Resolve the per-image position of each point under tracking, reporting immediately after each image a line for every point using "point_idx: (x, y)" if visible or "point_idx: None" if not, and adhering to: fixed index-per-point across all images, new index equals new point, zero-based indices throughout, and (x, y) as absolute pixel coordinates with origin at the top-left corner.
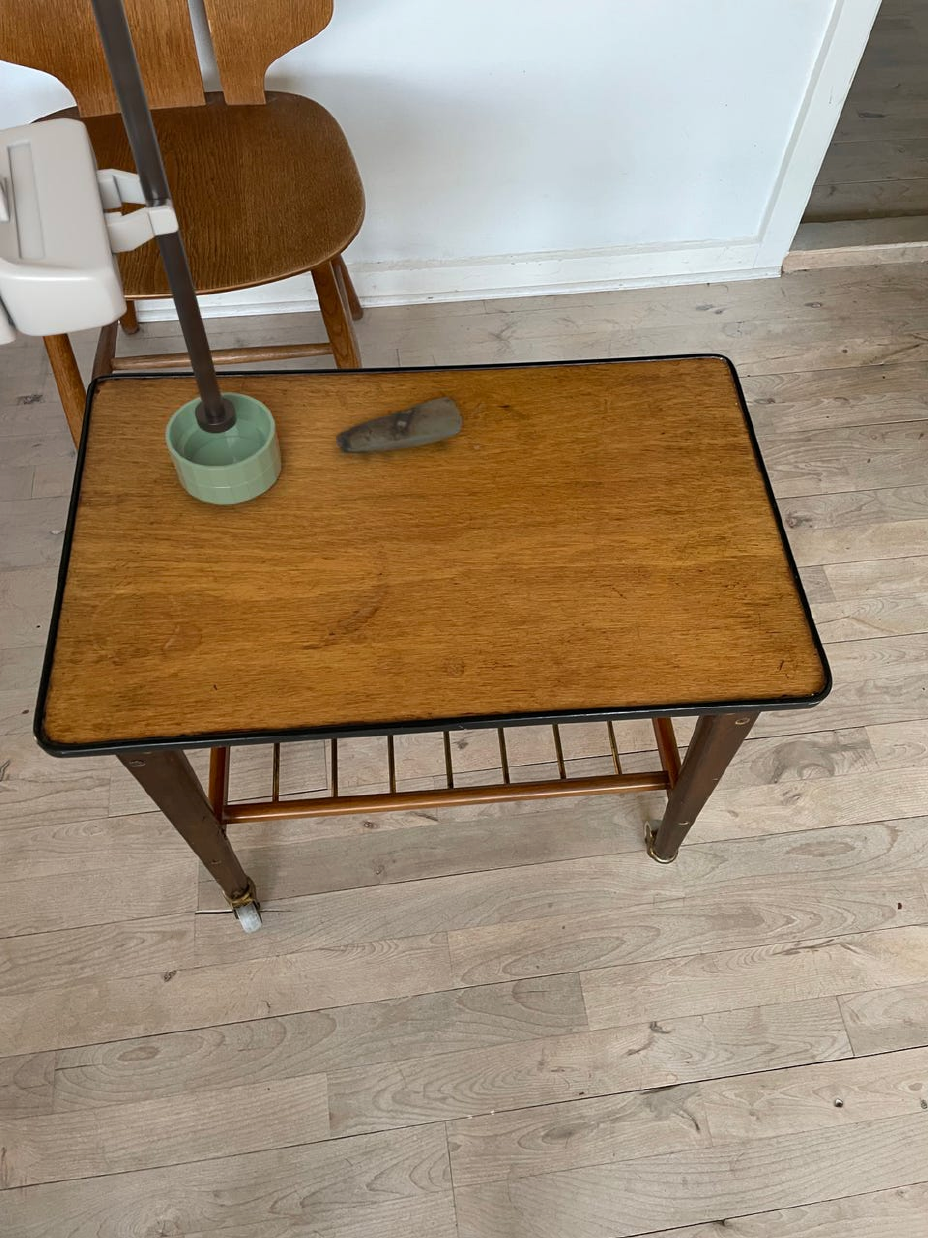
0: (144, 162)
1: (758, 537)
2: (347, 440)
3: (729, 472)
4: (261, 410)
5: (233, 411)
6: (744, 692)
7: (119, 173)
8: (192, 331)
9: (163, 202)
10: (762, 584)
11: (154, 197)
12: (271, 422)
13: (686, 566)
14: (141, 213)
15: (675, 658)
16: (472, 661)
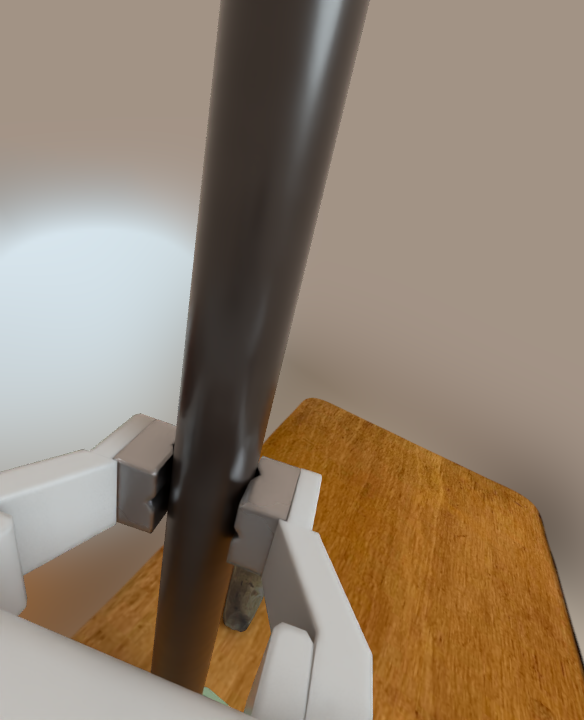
0: (276, 371)
1: (428, 455)
2: (241, 615)
3: (381, 436)
4: None
5: None
6: (540, 530)
7: (14, 484)
8: None
9: (283, 471)
10: (461, 474)
11: (251, 475)
12: (206, 694)
13: (444, 492)
14: (318, 551)
15: (517, 544)
16: (534, 689)
